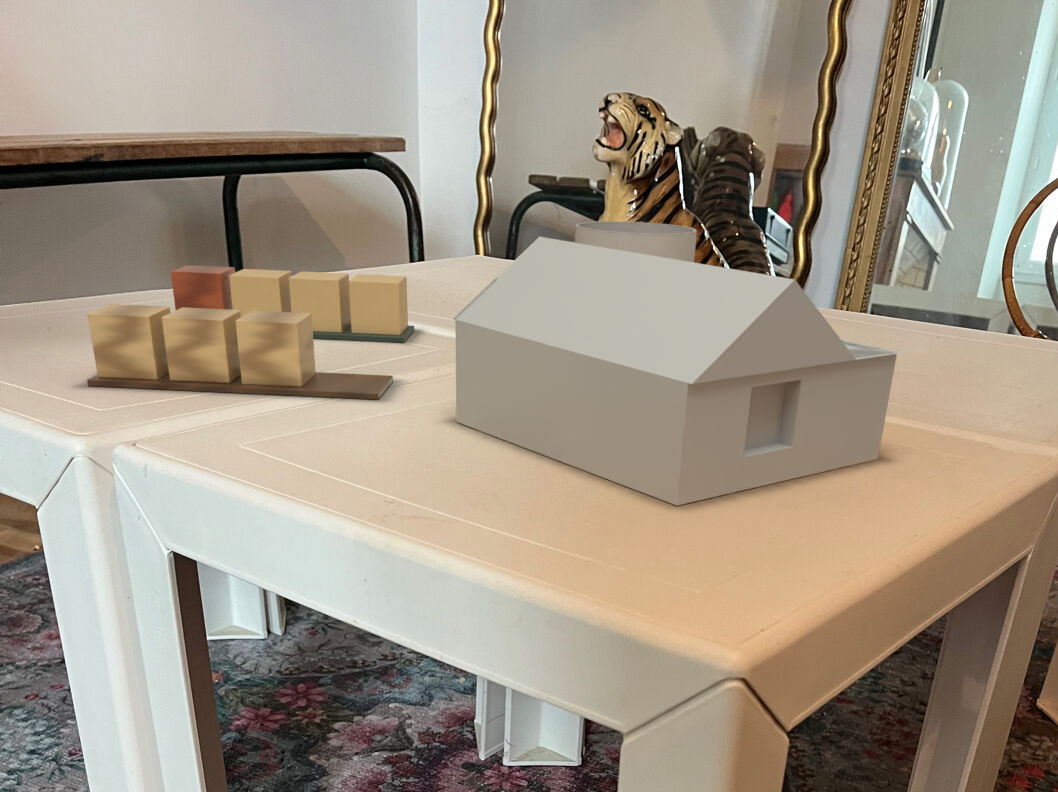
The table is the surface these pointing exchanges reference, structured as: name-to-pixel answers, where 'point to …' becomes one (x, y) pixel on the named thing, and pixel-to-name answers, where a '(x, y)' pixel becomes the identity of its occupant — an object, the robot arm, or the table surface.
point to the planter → (640, 238)
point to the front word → (216, 353)
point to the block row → (329, 302)
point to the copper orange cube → (202, 287)
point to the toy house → (666, 372)
